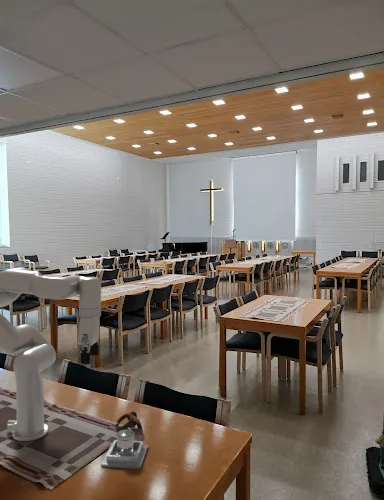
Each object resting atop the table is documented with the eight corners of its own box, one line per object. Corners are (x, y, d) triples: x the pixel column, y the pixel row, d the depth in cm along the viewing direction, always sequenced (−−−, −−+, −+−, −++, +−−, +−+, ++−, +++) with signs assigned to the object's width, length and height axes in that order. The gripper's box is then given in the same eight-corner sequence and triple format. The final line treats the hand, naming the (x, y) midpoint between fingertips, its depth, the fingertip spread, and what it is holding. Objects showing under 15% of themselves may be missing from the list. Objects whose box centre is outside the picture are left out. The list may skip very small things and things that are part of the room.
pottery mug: (143, 441, 147) (132, 424, 145) (121, 449, 149) (109, 433, 147) (147, 418, 159) (137, 402, 157) (126, 426, 160) (116, 410, 158)
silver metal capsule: (113, 453, 136) (113, 433, 136) (128, 447, 140) (128, 427, 140) (122, 461, 132) (122, 440, 131) (137, 454, 136) (138, 434, 135)
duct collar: (101, 466, 130) (101, 458, 130) (111, 445, 143) (111, 437, 143) (140, 468, 129) (140, 460, 129) (147, 447, 142) (147, 439, 142)
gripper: (87, 307, 152) (87, 351, 152) (70, 316, 134) (70, 367, 135) (107, 307, 151) (107, 352, 152) (92, 317, 134) (92, 368, 135)
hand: (89, 359), depth 144 cm, fingers open, 9 cm apart
